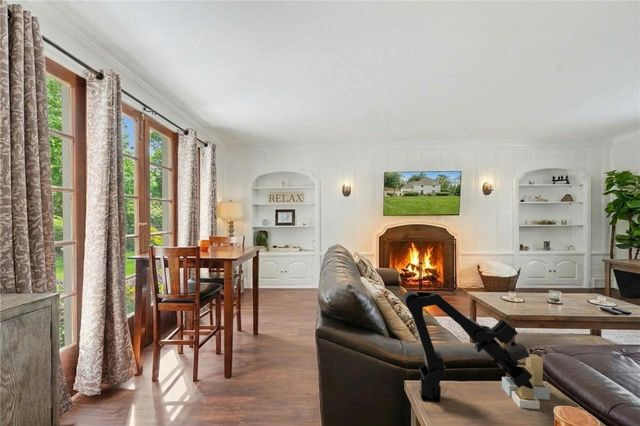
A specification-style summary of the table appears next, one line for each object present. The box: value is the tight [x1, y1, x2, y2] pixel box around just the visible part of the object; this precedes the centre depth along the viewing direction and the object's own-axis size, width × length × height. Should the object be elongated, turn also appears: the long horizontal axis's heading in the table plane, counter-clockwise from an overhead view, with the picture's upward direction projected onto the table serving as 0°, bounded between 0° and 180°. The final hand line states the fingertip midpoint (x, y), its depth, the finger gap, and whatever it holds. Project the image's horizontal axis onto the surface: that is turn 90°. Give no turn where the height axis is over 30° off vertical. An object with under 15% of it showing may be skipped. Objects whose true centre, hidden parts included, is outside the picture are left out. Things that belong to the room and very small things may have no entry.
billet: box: [517, 364, 534, 400], centre depth 116 cm, size 4×4×12 cm
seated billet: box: [525, 353, 544, 387], centre depth 122 cm, size 4×4×12 cm
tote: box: [511, 391, 541, 410], centre depth 116 cm, size 6×6×2 cm
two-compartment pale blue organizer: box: [501, 376, 551, 401], centre depth 123 cm, size 14×7×4 cm, turn 82°
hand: (529, 384), depth 116 cm, fingers open, 4 cm apart
